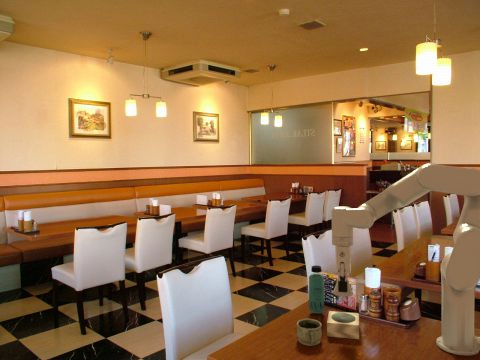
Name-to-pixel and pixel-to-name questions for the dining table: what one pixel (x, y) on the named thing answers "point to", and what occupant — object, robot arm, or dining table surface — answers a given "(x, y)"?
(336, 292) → the flask
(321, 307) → the beverage bottle
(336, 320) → the pedestal
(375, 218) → the robot arm
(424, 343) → the dining table surface
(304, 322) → the vessel
